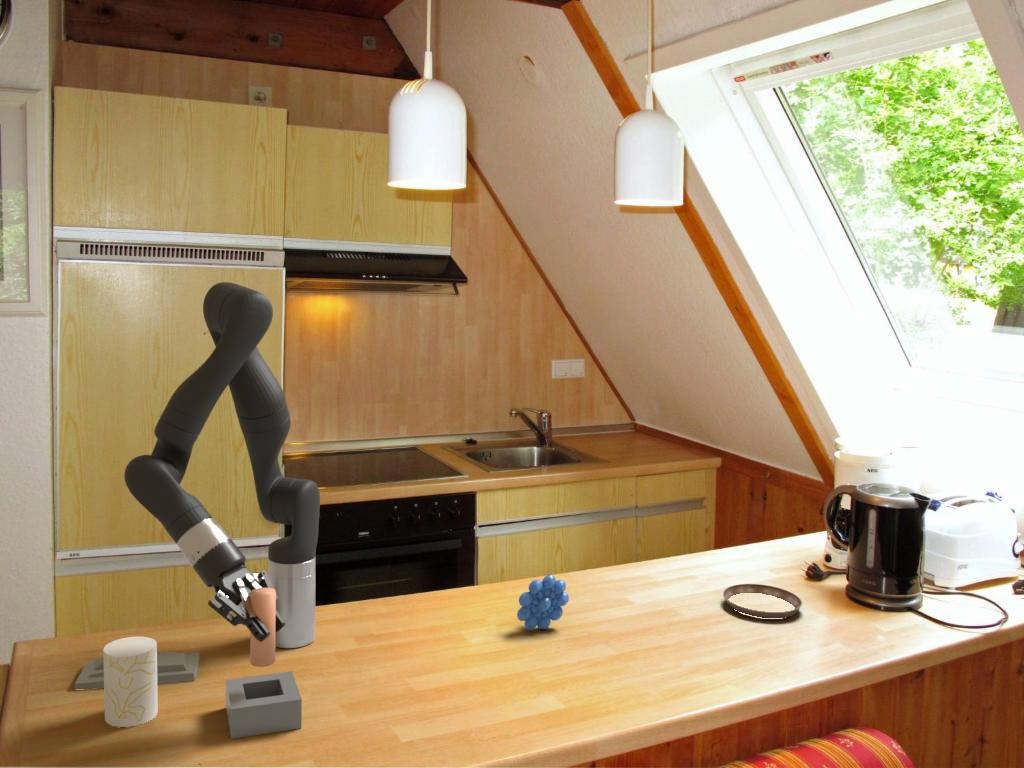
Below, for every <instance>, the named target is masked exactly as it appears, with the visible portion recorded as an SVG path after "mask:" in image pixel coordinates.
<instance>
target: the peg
mask: <svg viewBox="0 0 1024 768" xmlns="http://www.w3.org/2000/svg"><path fill="white" fill-rule="evenodd" d="M250 599H251V607H252V609H253V611H254V613H255V617H256V616H257V617H258V618H259V619H260V620H261V621H262V623H263V624H264V625H265V627H266V628H267V629H268V630H269V632H270V635H269V636H268V637H267V638H266V639H265V640H264V641H262V642H260V641H258V640H257V639H256V638H255V637H254V636H253V634H252V633H251V632H250V631H249V632H250V639H249V640H250V641H249V642H250V643H249V655H250V656H249V662H250V665H251V666H254V667H257V668H259V667H260V668H261V667H262V668H263V667H269V666H271V665H273V664H275V663H276V646H275V626H276V590H275V589H273V588H257V589H254V590H252V591H251V596H250Z"/></svg>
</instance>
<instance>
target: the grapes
mask: <svg viewBox="0 0 1024 768" xmlns="http://www.w3.org/2000/svg"><path fill="white" fill-rule="evenodd" d="M566 589H567V583H566V581H565V580H564V579H558V580H556V577H555V576H554V575H553V574H547V575H545V576H544V577H543V579H542V580H540V579H534V580H533V579H532V581H531V582H530V583H529V584H528V591H525V592H523V593H521V595H520V596H519V598H518V603H519V605H520V606H521V607H519V609H518V610H517V613H516V617H517V620H519V621H520V622H524V628H525V629H526V630H527V631H532V630H535V629H536V628H538V630H540V629H545V630H547V629H548V628H549V627H550V625H551V622H552V621H553V622H554V621H556V622H557V621H558V620H560V618H562V616H563V613H564V610H563V608H562V607H565V606H566V605H567V604H568V602H569V600H570V597H569V594H568V593H567V592H566V591H565V590H566Z"/></svg>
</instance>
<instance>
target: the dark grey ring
mask: <svg viewBox="0 0 1024 768" xmlns="http://www.w3.org/2000/svg"><path fill="white" fill-rule="evenodd" d="M740 593H762V594H766V595H772V596H775V597H777V598H781V599H783V600H785V601H787V602H789V603H790V604H792V605H793V606H794V607H795V609H794V610H791V611H785V612H765V611H757V610H752V609H748V608H744V607H741V606H738V605H736V604H734V603H732V602H730V601H729V600H728V599H729V598H730V597H731V596H733V595H736V594H740ZM722 596H723V598H724V600H725V601H726V603H727V605H728V606H729V605H730V606H731V607H732V608H733V609H735V610H737V611H739V612H742V613H745V614H749V615H752V616H757V617H762V618H785V617H789V616H791V617H792V616H793V615H795V614H796V613H797V612H798V611H799V610H800V609H801V607H802V606H803V600H802V599H801V597H799V596H798V595H796V594H795V593H793V592H791V591H789V590H787V589H783V588H781V587H776V586H773V585H767V584H759V583H739V584H734V585H730V586H728V587H727V588H725V589H724V590H723V591H722ZM730 606H729V607H730ZM731 607H730V608H731ZM732 608H731V609H732ZM733 609H732V610H733ZM789 618H790V617H789Z"/></svg>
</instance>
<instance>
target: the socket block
mask: <svg viewBox="0 0 1024 768" xmlns="http://www.w3.org/2000/svg"><path fill="white" fill-rule="evenodd" d="M302 703H303V702H302V697H301V694H300V690H299V688H298V685H297V681H296V677H295V676H294V673H293V671H291V670H290V671H283V672H274V673H267V674H259V675H258V674H257V675H253V676H252V675H251V676H244V677H235V678H229V679H225V709H226V715H227V721H228V726H229V732H230V738H231V740H234V739H240V738H246V737H252V736H253V737H254V736H258V735H266V734H272V733H279V732H285V731H286V732H287V731H291V730H299V729H302V711H303V709H302V707H303V706H302Z"/></svg>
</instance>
